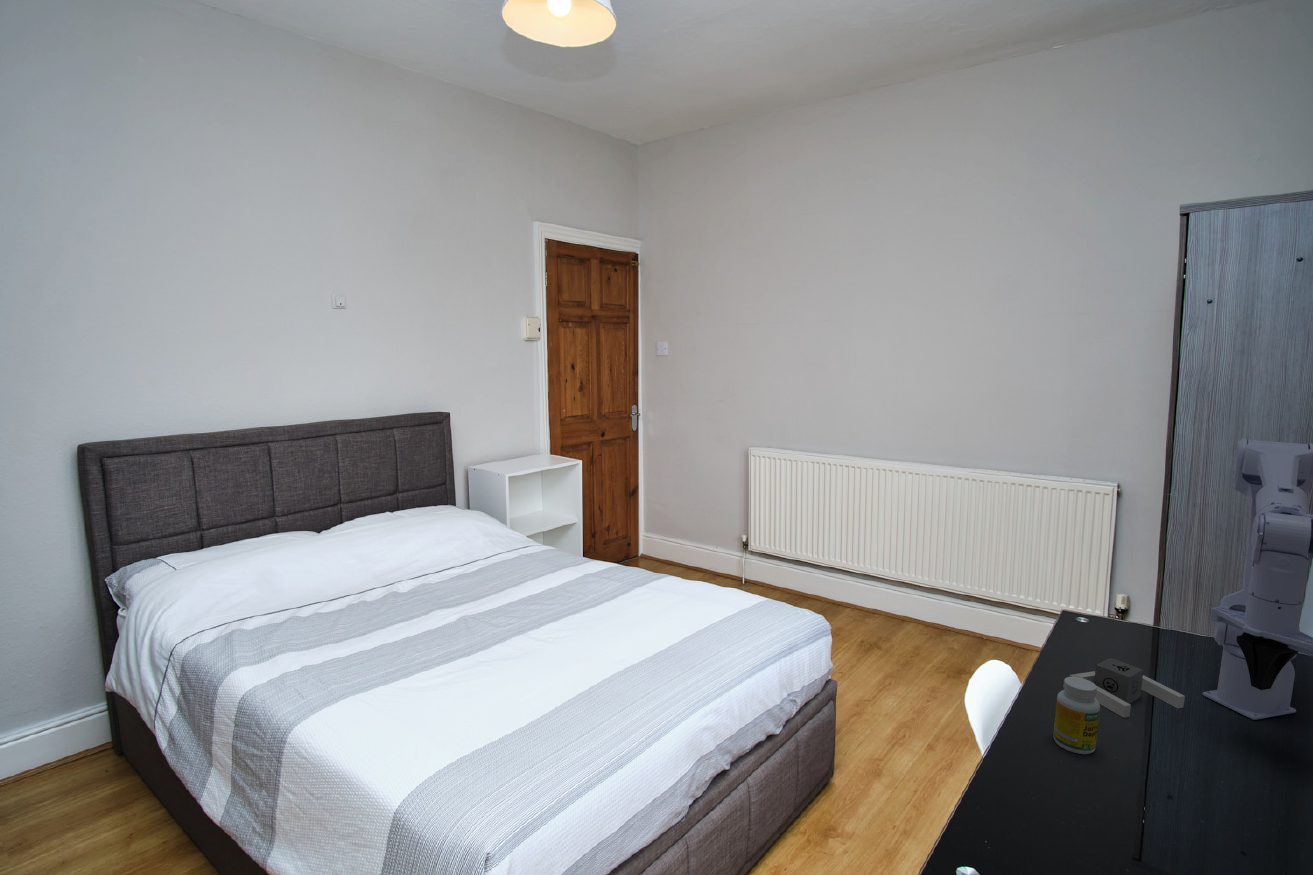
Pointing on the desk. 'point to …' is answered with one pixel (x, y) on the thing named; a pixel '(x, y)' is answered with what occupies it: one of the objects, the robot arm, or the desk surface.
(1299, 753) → the desk surface
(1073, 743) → the supplement bottle
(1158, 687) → the grey angular bar shape
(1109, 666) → the dice cube
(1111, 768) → the desk surface
